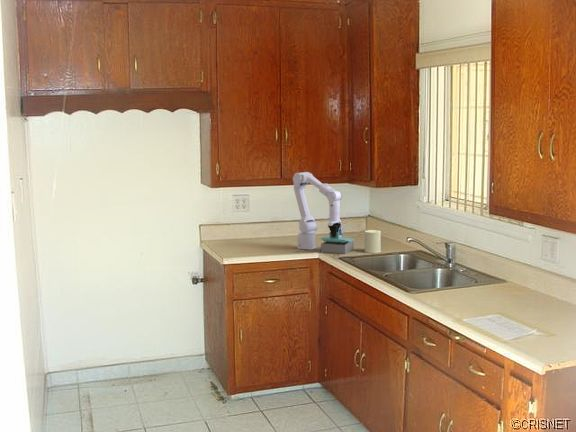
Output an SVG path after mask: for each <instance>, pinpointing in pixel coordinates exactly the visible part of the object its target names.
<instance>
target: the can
mask: <svg viewBox="0 0 576 432" xmlns="http://www.w3.org/2000/svg"><path fill="white" fill-rule="evenodd" d="M381 234H382V231H381V230H379V229H377V230H376V229H368V230H367V229H366V230H364V251H363V252H364V253H368V254H378V253H381V252H382V250H381V247H382V246H381V245H382V244H381V241H382V240H381V239H382V237H381V236H382V235H381Z"/></svg>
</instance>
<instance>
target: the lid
mask: <svg viewBox="0 0 576 432" xmlns="http://www.w3.org/2000/svg"><path fill="white" fill-rule="evenodd" d="M349 239H350V237H340V232H339V231H338V232H336V237H332V236H331V232H330V231H329V236H327V235H325V236H324V237H320V240H322V241H323V242H326V241H331V242H346V241H347V240H349Z"/></svg>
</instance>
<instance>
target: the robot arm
mask: <svg viewBox="0 0 576 432" xmlns="http://www.w3.org/2000/svg"><path fill="white" fill-rule="evenodd" d="M292 183H293V191H294V194H295V199H296V203H297V206H298V210H299V215H300V220H299V221H298V224H299V233H298V235H297V250H311V251H313V250H315V249H317V248H318V246H316V244H315V242H316V239H315V237H316V231H318V230H317V229H318V223H317V222H316V220H315V218H314V217H313V216H312V215H311V211H310V207H309V205H308V201H307V200H308V199H307V197H306V193H305V188H306V187H307V185H308V184H310V185H312V186H313V187H316V188H317V189H319V190H318V191H319V193H320V194H322V195H323V196H325V197H326V198H327V201H328V204H329V209H328V210H329V212H328V213H329V214H328V215H329V216H328V217H329V220H328V224H327V227H328V228H329V233H330V232H331V236H332V237H336V232H339V230H340V228H341V226H342V220H341V217H340V215H341V213H340V212H341V211H340V209H341V207H340V205H341V202H340V201H341V200H342V198H343V195H342V193H341V191H340V190H338V189H337V190H335V188H332V187H331V186H329V183H322V182H321V181H320V180H319V179H317V178H316V177H314V175H313V173H311V172H309V171H304V172H295V173H294V175H293V176H292Z"/></svg>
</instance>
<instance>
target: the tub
mask: <svg viewBox="0 0 576 432" xmlns="http://www.w3.org/2000/svg"><path fill="white" fill-rule="evenodd" d="M354 243H355V239H354V238H349V240H347V241H346V242H331V241H323V242H321V243H320V253H324V254H336V255H337V254H340V255H346V254H348V253H349V252H351V251H353V250H354V249H355V248H354V247H355V246H354Z"/></svg>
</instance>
